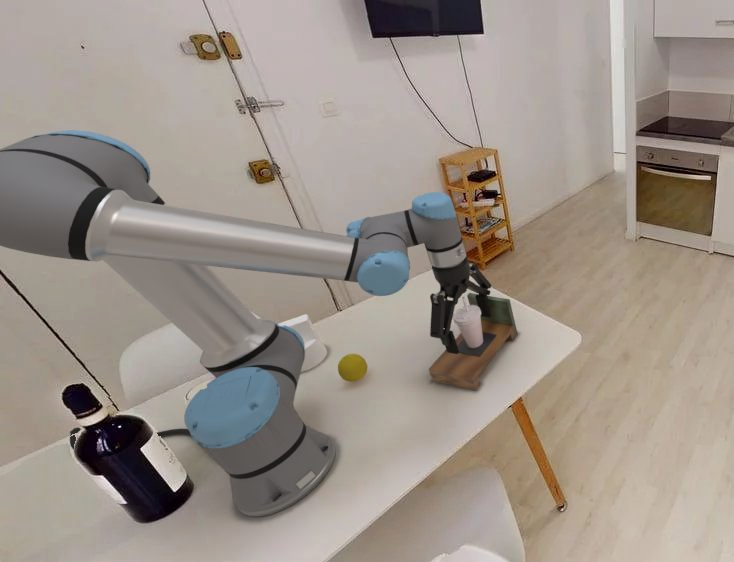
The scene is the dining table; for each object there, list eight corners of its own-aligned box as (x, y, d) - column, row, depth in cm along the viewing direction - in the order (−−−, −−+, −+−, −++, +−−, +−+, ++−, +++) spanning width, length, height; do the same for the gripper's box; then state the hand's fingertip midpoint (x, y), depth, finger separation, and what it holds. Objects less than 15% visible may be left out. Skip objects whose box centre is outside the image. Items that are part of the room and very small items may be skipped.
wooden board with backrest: (432, 380, 98) (418, 344, 92) (479, 326, 114) (469, 292, 108) (476, 390, 95) (463, 353, 89) (517, 333, 111) (509, 299, 105)
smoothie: (492, 334, 105) (481, 291, 99) (482, 352, 100) (468, 308, 93) (469, 333, 106) (456, 290, 99) (457, 351, 100) (442, 307, 94)
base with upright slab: (284, 379, 100) (260, 343, 94) (285, 357, 106) (263, 322, 100) (328, 361, 104) (308, 326, 98) (326, 341, 111) (307, 307, 105)
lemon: (359, 390, 96) (346, 366, 92) (340, 387, 97) (326, 363, 93) (377, 372, 101) (365, 348, 97) (358, 369, 102) (346, 345, 98)
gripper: (424, 296, 79) (451, 373, 90) (495, 235, 100) (510, 304, 110) (392, 290, 81) (422, 367, 91) (468, 232, 102) (485, 300, 112)
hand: (470, 333), depth 101 cm, fingers open, 12 cm apart
